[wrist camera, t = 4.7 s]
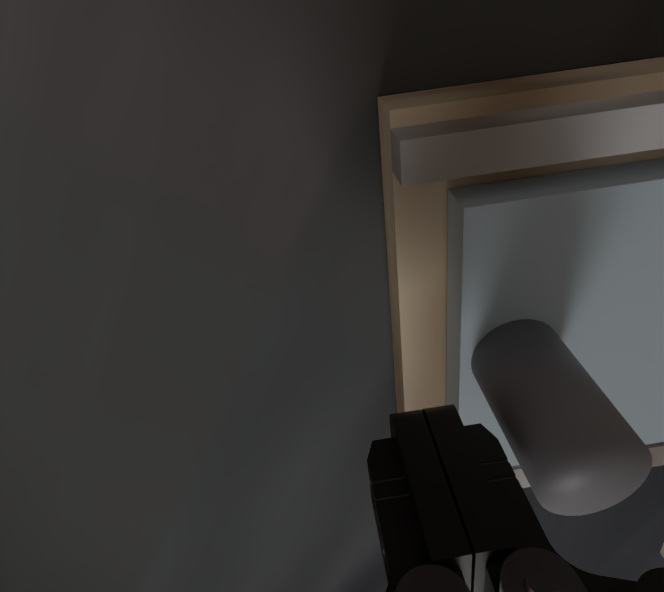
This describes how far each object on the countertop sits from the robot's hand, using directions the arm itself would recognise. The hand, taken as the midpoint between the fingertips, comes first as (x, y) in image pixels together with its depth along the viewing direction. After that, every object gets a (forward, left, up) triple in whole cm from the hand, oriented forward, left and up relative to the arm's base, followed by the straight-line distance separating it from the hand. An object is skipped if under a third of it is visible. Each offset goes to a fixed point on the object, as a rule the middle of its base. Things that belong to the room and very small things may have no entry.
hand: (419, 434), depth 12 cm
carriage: (-10, 0, -3) cm, 10 cm away
